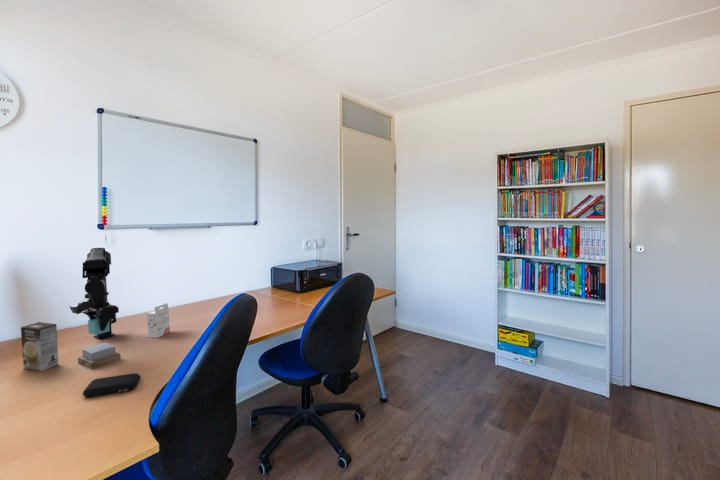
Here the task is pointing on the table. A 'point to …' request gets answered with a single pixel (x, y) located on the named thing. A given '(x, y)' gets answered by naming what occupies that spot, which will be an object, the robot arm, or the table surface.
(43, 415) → the table surface
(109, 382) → the carrying case or bag
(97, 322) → the teal cube
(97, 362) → the tan flat square block
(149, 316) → the ink cartridge box
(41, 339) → the coffee box
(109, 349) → the grey slab
